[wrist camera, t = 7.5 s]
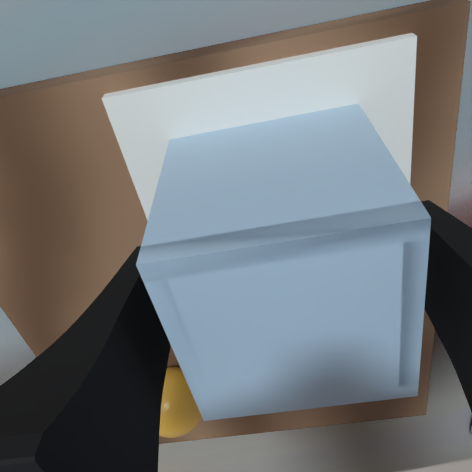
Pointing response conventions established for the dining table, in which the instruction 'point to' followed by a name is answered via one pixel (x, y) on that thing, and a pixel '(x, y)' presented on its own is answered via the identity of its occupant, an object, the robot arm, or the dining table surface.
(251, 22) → the dining table surface
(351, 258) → the light blue cube
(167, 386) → the marble
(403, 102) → the pad
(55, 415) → the robot arm
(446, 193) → the board
